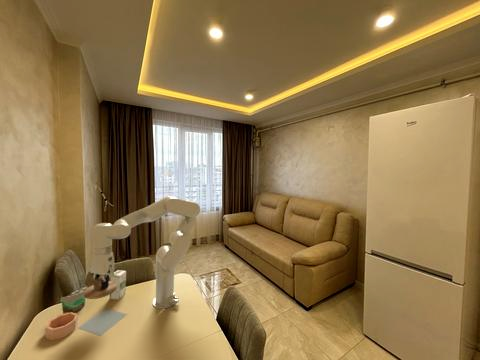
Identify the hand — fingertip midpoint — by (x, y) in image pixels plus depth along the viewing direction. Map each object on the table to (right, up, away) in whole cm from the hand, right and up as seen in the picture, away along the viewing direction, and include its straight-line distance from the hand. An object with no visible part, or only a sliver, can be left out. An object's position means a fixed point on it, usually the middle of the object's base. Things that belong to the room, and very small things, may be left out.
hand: (101, 287), depth 94 cm
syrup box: (-5, -17, +20) cm, 27 cm away
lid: (0, -2, 0) cm, 2 cm away
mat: (+1, -17, +1) cm, 17 cm away
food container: (-18, -17, +8) cm, 26 cm away
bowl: (-14, -17, -5) cm, 23 cm away
